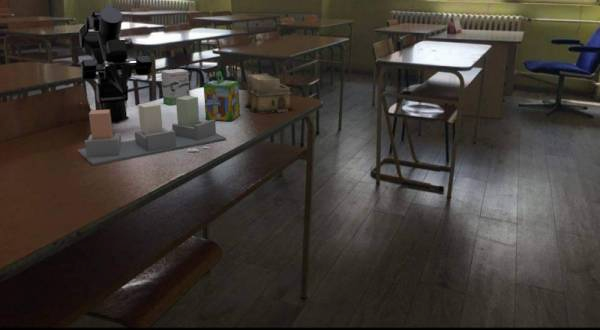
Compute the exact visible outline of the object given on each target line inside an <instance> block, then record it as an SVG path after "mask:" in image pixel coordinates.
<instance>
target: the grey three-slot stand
mask: <svg viewBox="0 0 600 330" xmlns="http://www.w3.org/2000/svg"><path fill="white" fill-rule="evenodd" d="M216 125H217V124H216V120H206V121H203V120H199V124H197V125H194V127H190V126H185V125H179V124H178V123H173V124H172V126H171V128H172V129H171V130H167V129H165V128H164V127H162V129H163V132H160V133H154V134H148V135H145V134H143V133H142V132H141V130H135V131H134V139H132V140H131V139H130V140H126V141H122V137H121V132H116V133H114V136H113V138H111V139H95V140H92V134H89V136H88V139H85V140H84V145H85V148H79V149H77V152H78V154H80V156H82V157H83V158H84V157H85V158H86V159H87V162H88V163H90V164H91V165H92V166H99V165H104V164H109V163H113V162H120V161H124V160H129V159H134V158H141V157H145V156H146V157H147V156H150V155H156V154H162V153H166V152H170V151H175V150H182V149H186V148H193V147H196V146H202V145H207V144H212V143H213V144H214V143H218V142H224V141H226V140H227V137H225V136H224V135H223V136H222V135H221V134H219V133H217V129H216V128H217V127H216ZM85 158H84V159H85Z"/></svg>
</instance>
